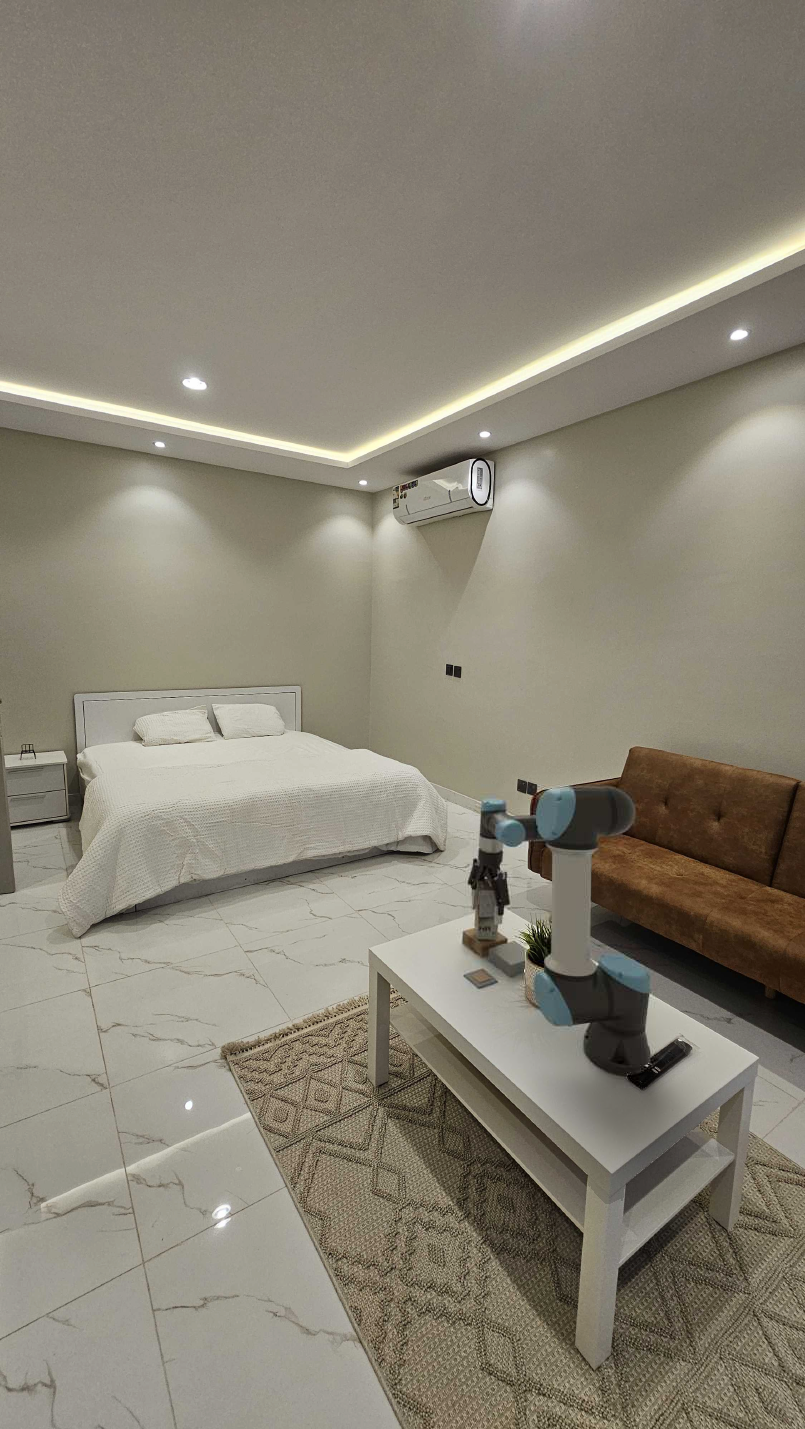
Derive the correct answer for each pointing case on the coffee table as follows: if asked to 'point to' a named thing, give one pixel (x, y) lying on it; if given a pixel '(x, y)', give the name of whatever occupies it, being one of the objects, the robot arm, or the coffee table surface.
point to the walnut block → (481, 942)
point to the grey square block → (508, 958)
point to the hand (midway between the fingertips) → (486, 916)
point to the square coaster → (480, 978)
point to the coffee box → (485, 911)
